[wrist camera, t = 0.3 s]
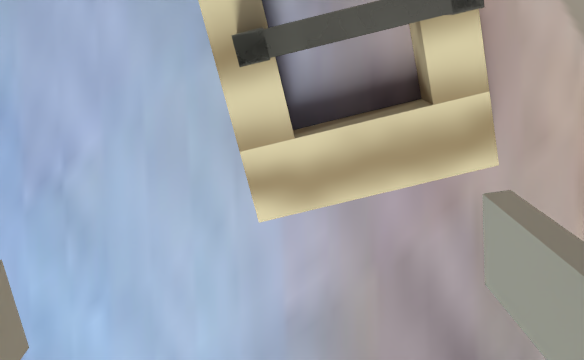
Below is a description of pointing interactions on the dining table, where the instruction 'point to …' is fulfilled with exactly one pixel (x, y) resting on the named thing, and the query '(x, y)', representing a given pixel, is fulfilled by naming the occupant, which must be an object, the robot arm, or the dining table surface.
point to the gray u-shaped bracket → (340, 26)
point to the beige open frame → (356, 119)
